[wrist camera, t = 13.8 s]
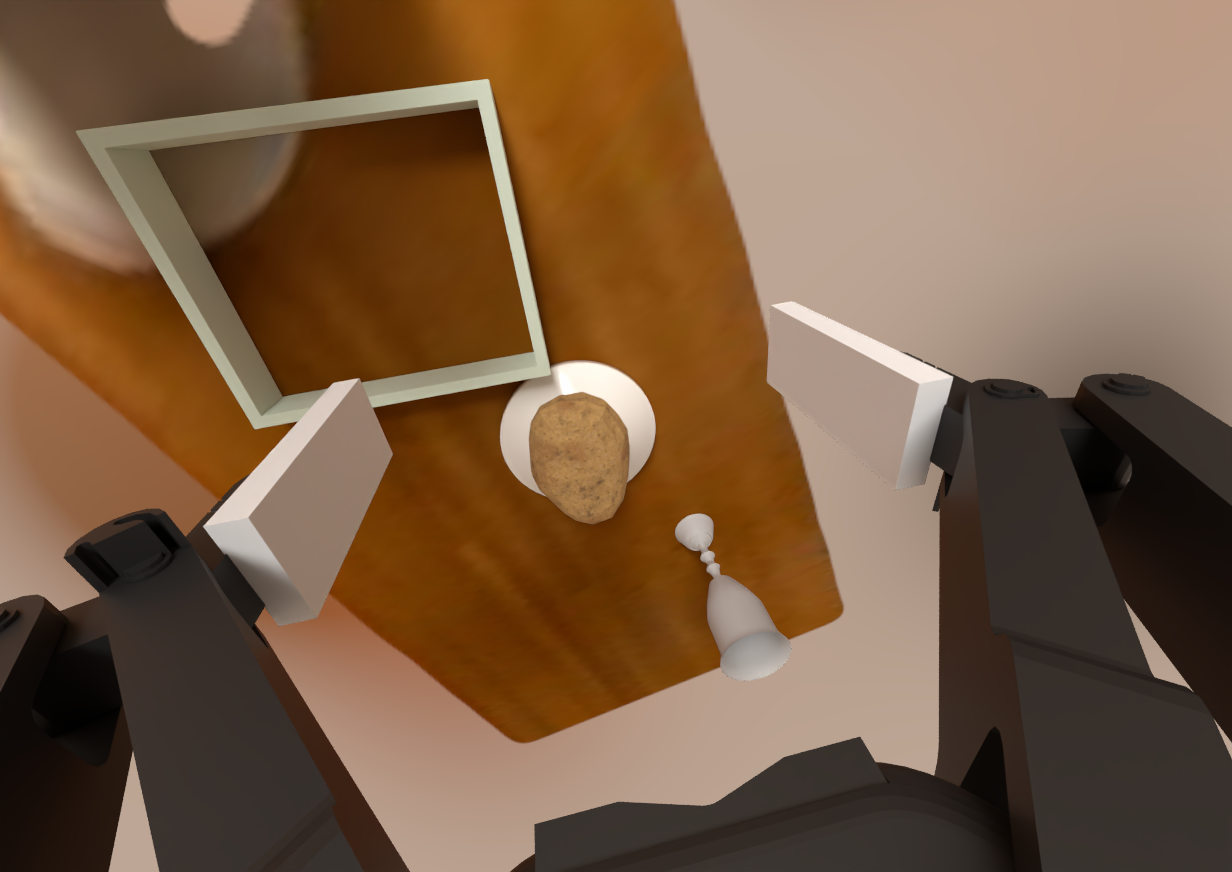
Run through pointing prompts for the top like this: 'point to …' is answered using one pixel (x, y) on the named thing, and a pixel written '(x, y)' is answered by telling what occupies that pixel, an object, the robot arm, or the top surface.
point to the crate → (201, 291)
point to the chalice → (735, 613)
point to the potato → (580, 456)
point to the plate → (569, 380)
